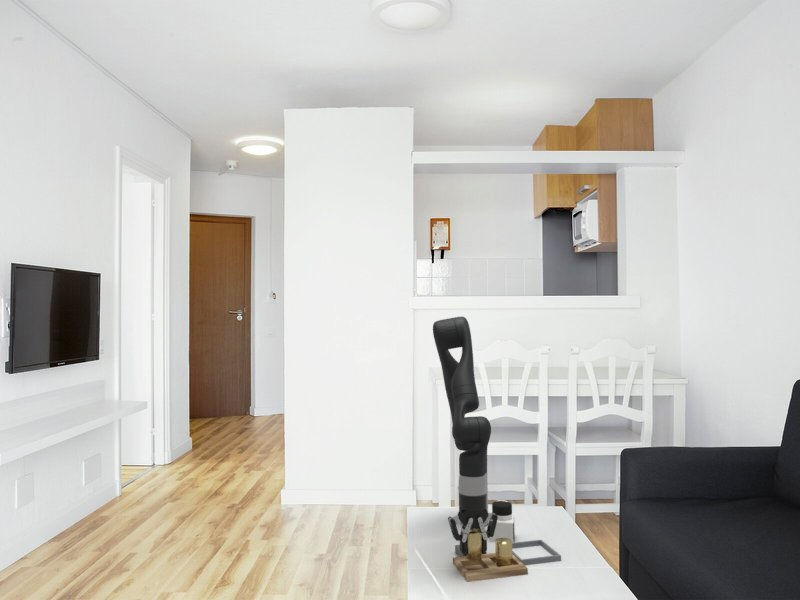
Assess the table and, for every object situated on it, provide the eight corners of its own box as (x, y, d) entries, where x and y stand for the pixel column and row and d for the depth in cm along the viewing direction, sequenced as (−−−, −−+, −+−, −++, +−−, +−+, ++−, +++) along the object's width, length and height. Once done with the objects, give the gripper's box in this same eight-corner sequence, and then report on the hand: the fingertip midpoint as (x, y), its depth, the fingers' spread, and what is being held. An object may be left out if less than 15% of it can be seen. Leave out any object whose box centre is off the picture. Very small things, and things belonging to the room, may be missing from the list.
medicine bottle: (514, 546, 184) (513, 506, 184) (490, 544, 185) (489, 505, 185) (514, 537, 190) (513, 499, 191) (491, 536, 192) (490, 497, 192)
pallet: (453, 566, 170) (452, 557, 170) (509, 559, 174) (509, 550, 174) (467, 585, 158) (467, 575, 158) (527, 577, 162) (527, 568, 162)
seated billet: (493, 564, 169) (492, 538, 169) (508, 562, 170) (508, 537, 170) (499, 571, 164) (499, 544, 164) (515, 569, 165) (514, 543, 165)
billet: (462, 554, 167) (462, 528, 167) (478, 552, 168) (478, 527, 168) (468, 561, 162) (468, 534, 162) (484, 559, 163) (484, 533, 163)
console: (455, 555, 177) (455, 545, 177) (477, 552, 179) (477, 542, 179) (463, 565, 171) (463, 554, 171) (486, 562, 172) (486, 551, 172)
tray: (503, 552, 179) (503, 543, 179) (541, 547, 182) (541, 539, 182) (520, 569, 167) (520, 560, 167) (561, 564, 170) (561, 555, 170)
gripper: (451, 496, 160) (452, 562, 160) (502, 492, 163) (503, 556, 163) (443, 488, 167) (444, 551, 167) (492, 484, 171) (493, 545, 170)
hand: (473, 553), depth 165 cm, fingers closed on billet, 4 cm apart
